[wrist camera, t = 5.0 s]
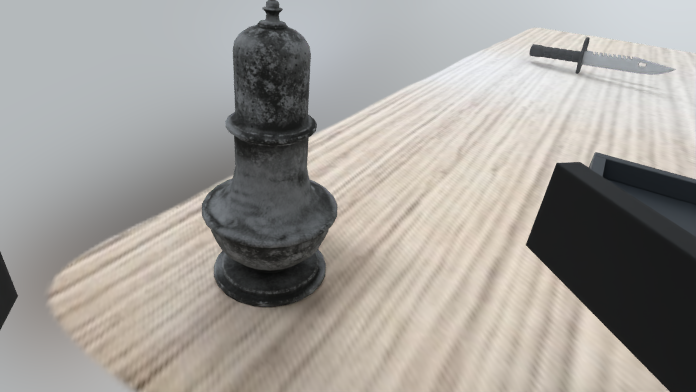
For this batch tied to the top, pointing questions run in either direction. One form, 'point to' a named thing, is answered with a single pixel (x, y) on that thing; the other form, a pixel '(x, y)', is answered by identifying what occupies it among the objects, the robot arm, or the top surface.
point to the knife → (599, 59)
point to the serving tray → (652, 188)
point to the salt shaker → (270, 174)
